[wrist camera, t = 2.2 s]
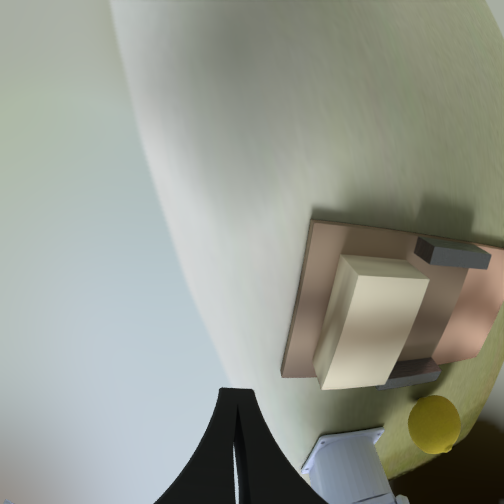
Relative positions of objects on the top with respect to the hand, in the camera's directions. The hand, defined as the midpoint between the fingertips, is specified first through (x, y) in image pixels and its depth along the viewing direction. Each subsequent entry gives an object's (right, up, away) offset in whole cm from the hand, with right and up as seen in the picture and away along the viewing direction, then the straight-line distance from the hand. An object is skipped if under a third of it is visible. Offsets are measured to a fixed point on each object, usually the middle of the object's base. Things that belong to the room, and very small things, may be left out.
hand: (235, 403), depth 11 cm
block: (+8, +2, +8) cm, 11 cm away
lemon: (+19, -10, +14) cm, 26 cm away
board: (+14, +2, +9) cm, 17 cm away
